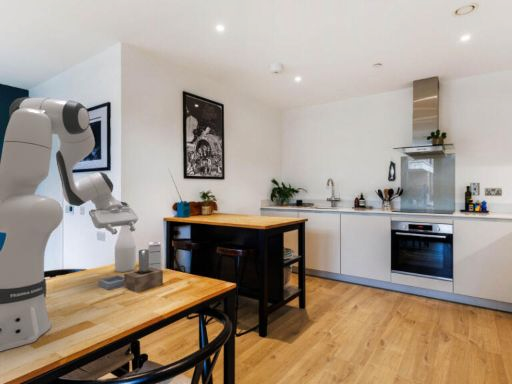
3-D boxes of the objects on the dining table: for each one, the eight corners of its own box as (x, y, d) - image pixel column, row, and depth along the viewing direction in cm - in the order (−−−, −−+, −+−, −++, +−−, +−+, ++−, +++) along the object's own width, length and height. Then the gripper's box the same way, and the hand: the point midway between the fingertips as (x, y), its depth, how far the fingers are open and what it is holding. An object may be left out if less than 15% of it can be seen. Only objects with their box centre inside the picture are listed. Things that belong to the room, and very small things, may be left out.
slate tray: (109, 290, 120) (109, 283, 120) (98, 285, 125) (98, 279, 125) (130, 284, 127) (130, 278, 127) (118, 280, 132) (118, 274, 132)
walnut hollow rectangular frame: (136, 292, 117) (136, 277, 117) (124, 288, 122) (124, 273, 122) (162, 284, 127) (162, 270, 127) (150, 280, 132) (150, 267, 132)
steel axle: (142, 288, 122) (142, 251, 122) (136, 286, 124) (136, 250, 124) (151, 286, 125) (150, 250, 125) (145, 284, 127) (145, 249, 127)
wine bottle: (134, 271, 146) (134, 210, 146) (113, 273, 144) (112, 210, 143) (136, 266, 155) (136, 209, 155) (116, 268, 153) (116, 209, 152)
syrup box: (161, 273, 143) (161, 243, 143) (148, 274, 141) (148, 244, 141) (160, 270, 149) (160, 241, 148) (148, 271, 146) (148, 242, 146)
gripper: (90, 204, 123) (106, 230, 119) (131, 202, 141) (146, 224, 137) (83, 215, 125) (99, 240, 121) (124, 211, 143) (139, 233, 139)
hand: (124, 232), depth 129 cm, fingers open, 8 cm apart
